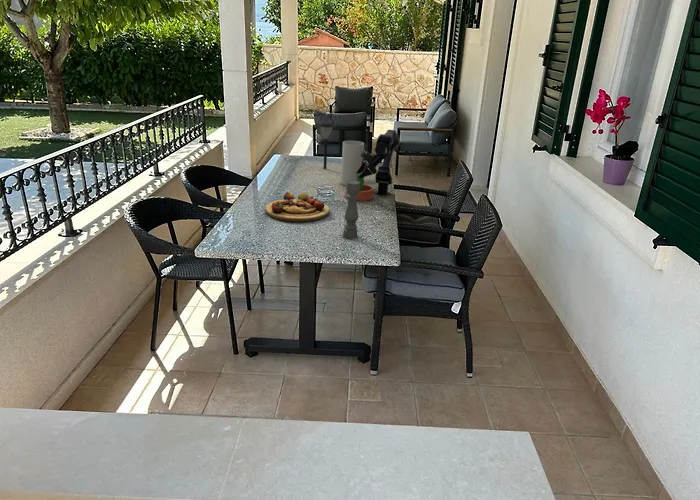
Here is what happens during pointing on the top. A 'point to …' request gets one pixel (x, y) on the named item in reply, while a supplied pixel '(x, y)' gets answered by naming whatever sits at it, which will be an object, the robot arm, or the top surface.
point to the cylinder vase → (351, 160)
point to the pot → (364, 193)
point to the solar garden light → (326, 130)
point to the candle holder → (351, 210)
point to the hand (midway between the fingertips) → (357, 175)
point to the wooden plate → (297, 208)
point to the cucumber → (360, 182)
